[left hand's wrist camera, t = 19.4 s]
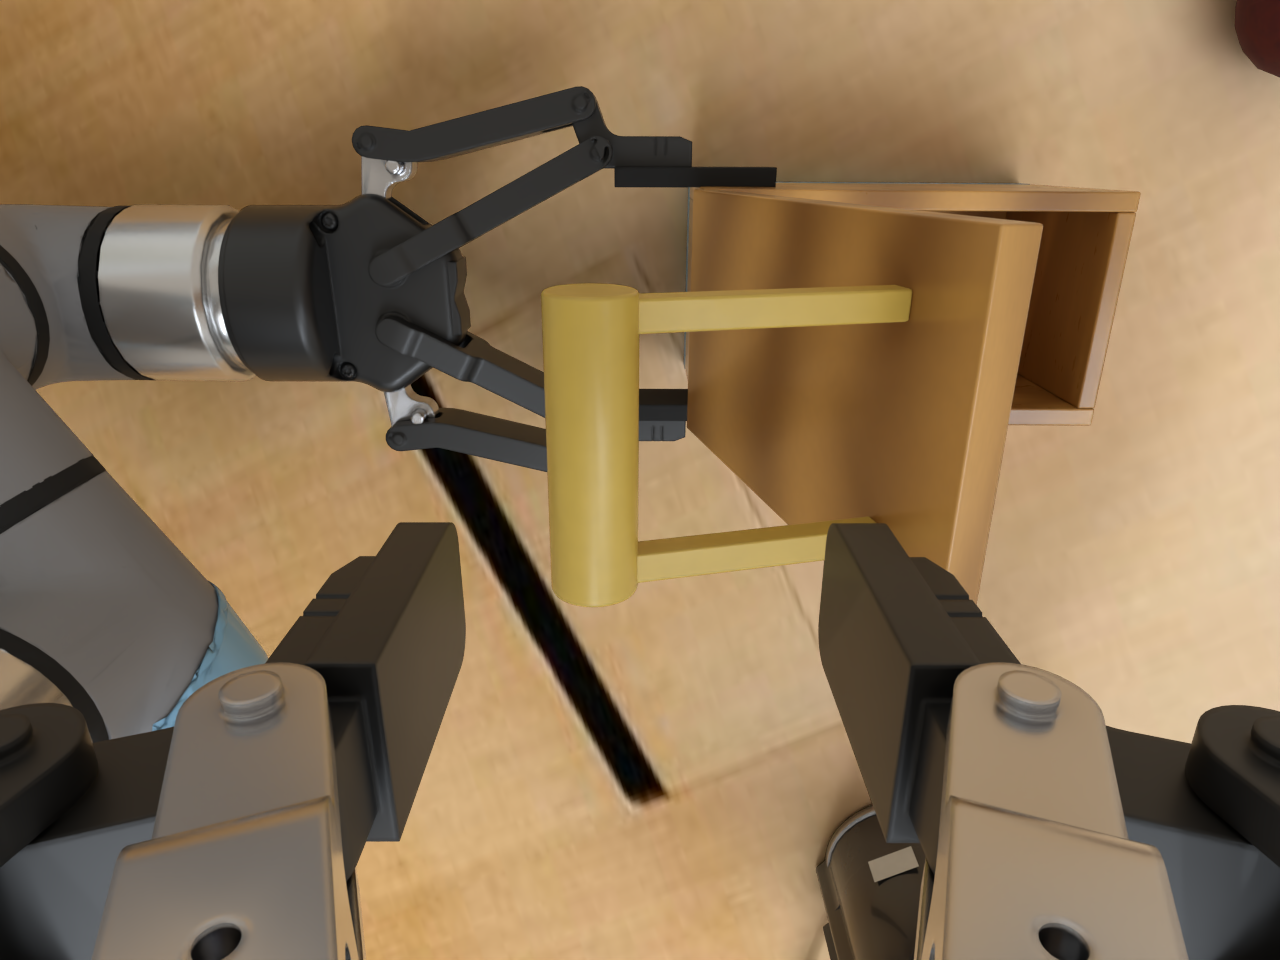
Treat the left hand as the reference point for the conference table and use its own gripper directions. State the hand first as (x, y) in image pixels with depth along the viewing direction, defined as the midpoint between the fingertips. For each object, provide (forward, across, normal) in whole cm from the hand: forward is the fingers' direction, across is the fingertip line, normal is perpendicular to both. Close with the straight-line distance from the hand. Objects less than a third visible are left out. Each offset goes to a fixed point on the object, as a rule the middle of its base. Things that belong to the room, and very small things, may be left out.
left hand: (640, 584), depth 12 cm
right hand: (+26, -6, 0) cm, 27 cm away
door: (+13, -5, 0) cm, 14 cm away
